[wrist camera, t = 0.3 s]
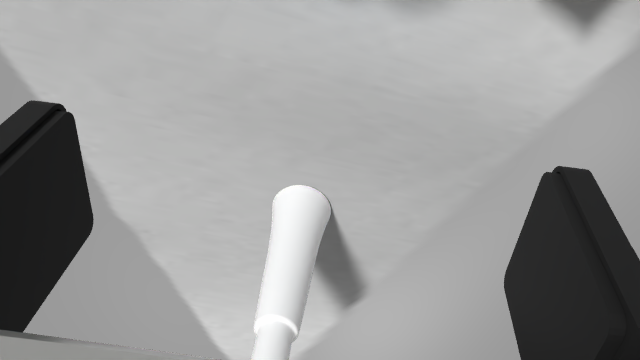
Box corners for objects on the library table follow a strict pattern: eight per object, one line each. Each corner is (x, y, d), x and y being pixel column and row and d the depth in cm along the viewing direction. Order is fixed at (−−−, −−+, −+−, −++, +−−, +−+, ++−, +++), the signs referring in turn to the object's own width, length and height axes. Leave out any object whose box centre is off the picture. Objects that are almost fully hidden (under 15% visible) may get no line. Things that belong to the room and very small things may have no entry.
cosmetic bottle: (266, 187, 56) (208, 372, 38) (324, 181, 55) (293, 368, 37) (280, 233, 59) (233, 424, 41) (336, 228, 58) (312, 422, 40)
